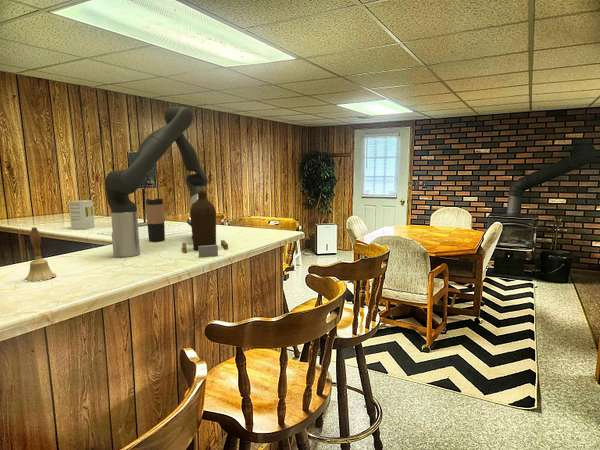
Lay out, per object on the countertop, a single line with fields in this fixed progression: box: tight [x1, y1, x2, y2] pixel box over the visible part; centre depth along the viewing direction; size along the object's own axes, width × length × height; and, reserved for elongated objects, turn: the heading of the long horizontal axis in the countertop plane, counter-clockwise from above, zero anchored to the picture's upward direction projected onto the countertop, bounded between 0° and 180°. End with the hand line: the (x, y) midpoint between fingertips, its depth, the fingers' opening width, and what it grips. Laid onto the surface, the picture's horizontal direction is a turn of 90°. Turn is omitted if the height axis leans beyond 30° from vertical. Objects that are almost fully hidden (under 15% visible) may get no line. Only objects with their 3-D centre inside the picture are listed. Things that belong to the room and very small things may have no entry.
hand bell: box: [24, 226, 57, 282], centre depth 116 cm, size 8×8×16 cm
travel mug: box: [145, 198, 166, 243], centre depth 179 cm, size 8×8×20 cm
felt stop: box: [197, 244, 219, 258], centre depth 144 cm, size 7×2×4 cm, turn 109°
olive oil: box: [189, 188, 217, 251], centre depth 158 cm, size 11×11×25 cm
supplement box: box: [68, 199, 96, 230], centre depth 226 cm, size 10×9×17 cm
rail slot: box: [181, 239, 229, 254], centre depth 159 cm, size 18×12×2 cm, turn 109°
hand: (202, 235), depth 166 cm, fingers closed
